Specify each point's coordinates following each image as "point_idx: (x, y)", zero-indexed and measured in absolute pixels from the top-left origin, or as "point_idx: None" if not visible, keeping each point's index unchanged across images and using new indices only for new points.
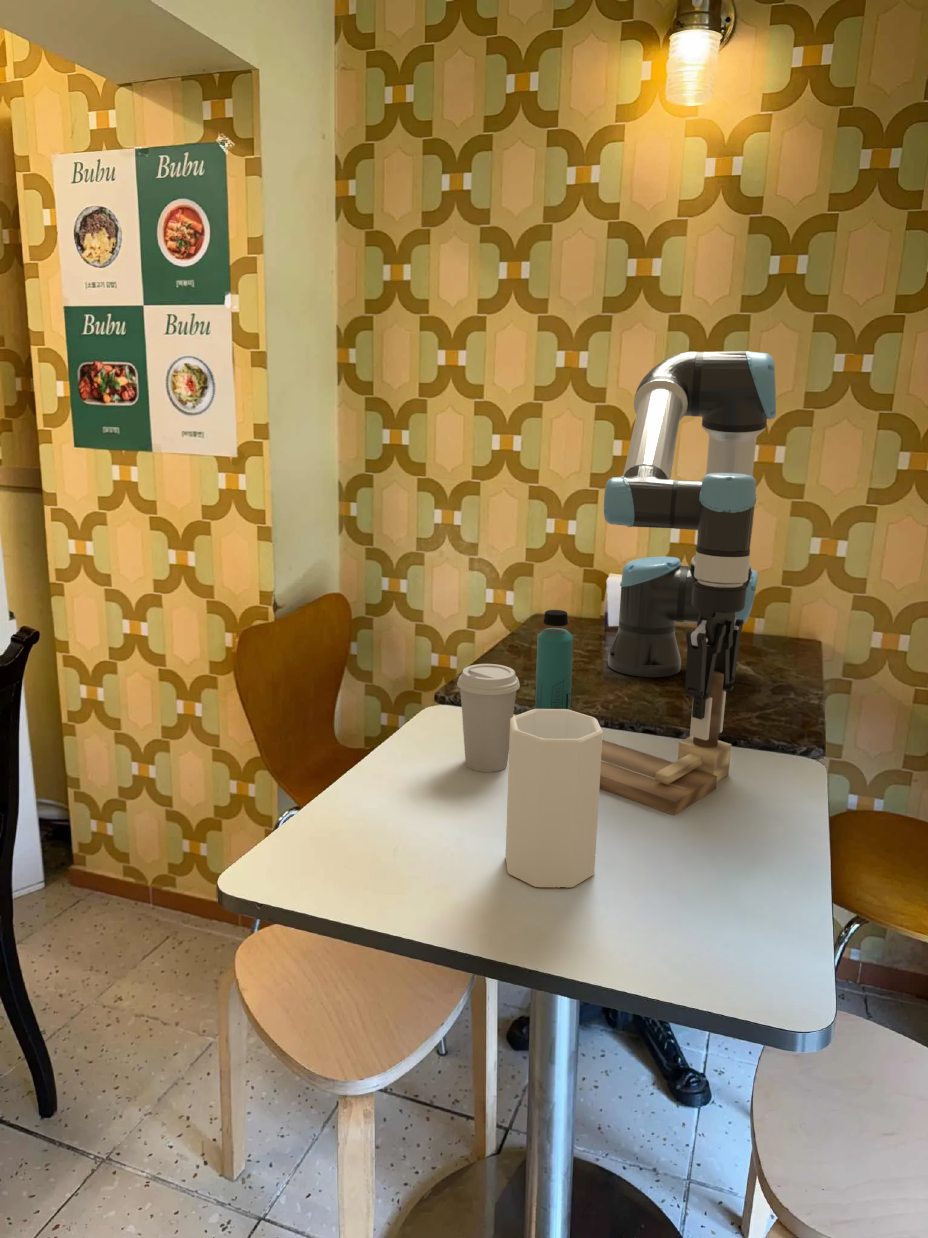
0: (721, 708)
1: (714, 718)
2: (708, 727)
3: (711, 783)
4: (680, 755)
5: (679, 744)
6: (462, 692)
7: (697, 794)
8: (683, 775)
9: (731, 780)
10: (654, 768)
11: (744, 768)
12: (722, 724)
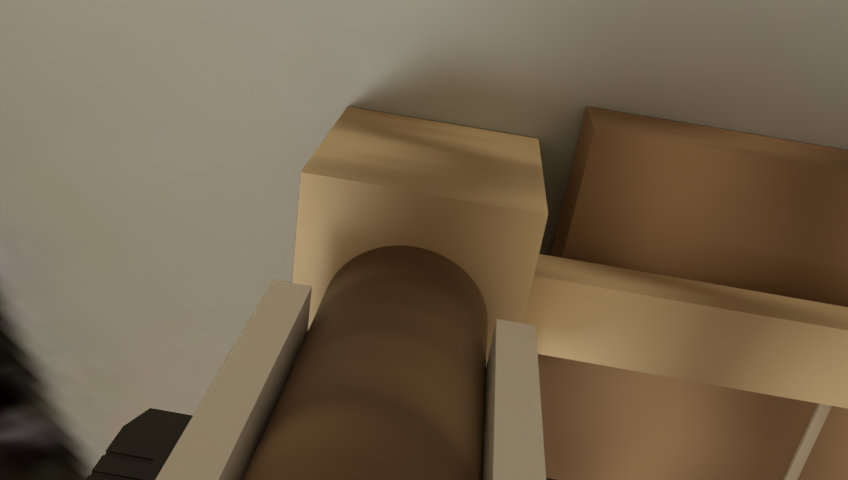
0: (249, 421)
1: (436, 402)
2: (515, 383)
3: (657, 132)
4: None
5: None
6: None
7: (823, 157)
8: None
9: (410, 67)
10: (675, 436)
11: (191, 56)
12: (263, 313)
